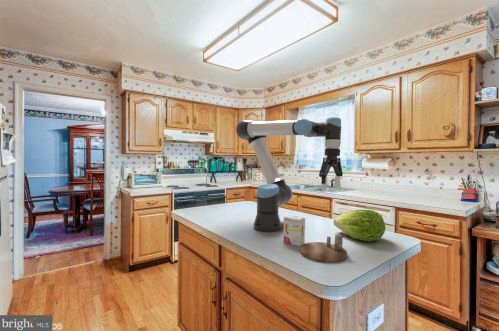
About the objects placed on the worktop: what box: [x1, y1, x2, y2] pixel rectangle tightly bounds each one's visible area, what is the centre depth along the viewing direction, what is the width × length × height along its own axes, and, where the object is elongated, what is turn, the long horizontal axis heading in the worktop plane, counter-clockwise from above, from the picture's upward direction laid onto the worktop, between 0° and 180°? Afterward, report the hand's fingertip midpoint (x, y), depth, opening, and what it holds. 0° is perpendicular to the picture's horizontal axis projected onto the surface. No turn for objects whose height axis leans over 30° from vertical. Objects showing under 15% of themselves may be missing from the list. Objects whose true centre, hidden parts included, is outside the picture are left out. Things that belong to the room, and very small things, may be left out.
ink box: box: [283, 214, 306, 247], centre depth 114 cm, size 9×5×12 cm, turn 51°
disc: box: [299, 234, 348, 264], centre depth 102 cm, size 18×18×8 cm
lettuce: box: [332, 209, 386, 243], centre depth 123 cm, size 17×24×14 cm
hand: (330, 189), depth 131 cm, fingers open, 13 cm apart
